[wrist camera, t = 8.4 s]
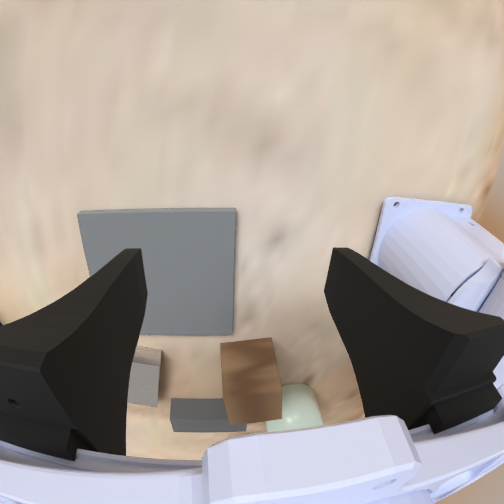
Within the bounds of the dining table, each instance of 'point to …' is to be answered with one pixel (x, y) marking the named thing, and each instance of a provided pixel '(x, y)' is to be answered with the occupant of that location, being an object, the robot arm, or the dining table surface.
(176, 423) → the charcoal rubber bar
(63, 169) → the dining table surface
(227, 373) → the walnut block
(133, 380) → the grey topped wooden block
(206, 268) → the slate coaster
